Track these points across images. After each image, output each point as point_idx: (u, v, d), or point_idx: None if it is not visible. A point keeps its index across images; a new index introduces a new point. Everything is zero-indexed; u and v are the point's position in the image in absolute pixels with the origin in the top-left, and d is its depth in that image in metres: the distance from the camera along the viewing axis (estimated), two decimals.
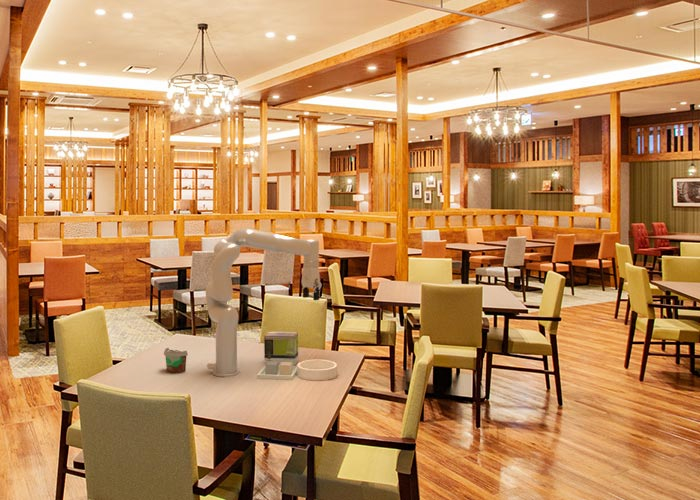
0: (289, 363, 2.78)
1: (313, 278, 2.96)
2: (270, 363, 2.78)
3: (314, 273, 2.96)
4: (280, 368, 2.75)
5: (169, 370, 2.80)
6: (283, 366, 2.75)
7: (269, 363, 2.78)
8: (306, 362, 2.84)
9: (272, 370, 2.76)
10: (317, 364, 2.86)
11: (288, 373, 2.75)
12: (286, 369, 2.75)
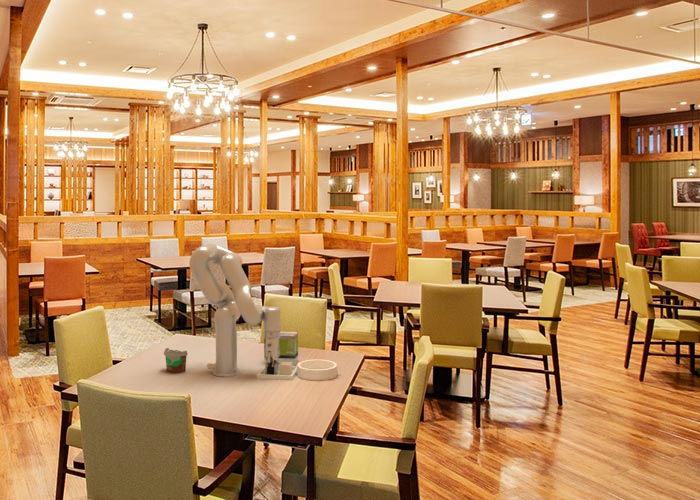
0: (289, 363, 2.78)
1: None
2: None
3: None
4: (280, 368, 2.75)
5: (169, 370, 2.80)
6: (283, 366, 2.75)
7: None
8: (306, 362, 2.84)
9: None
10: (317, 364, 2.86)
11: (288, 373, 2.75)
12: (286, 369, 2.75)
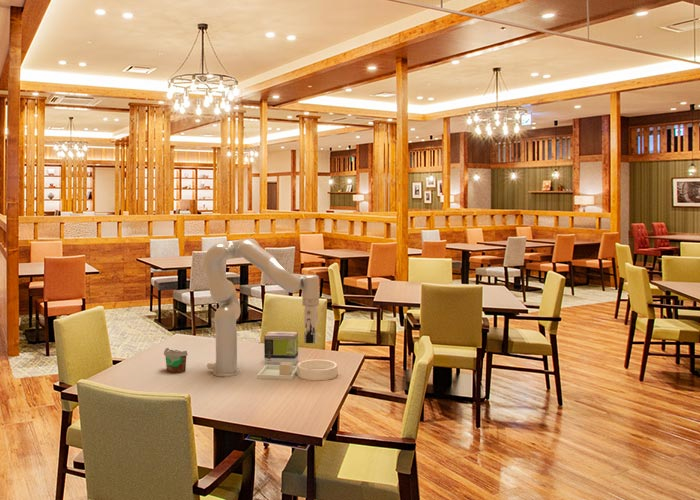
0: (289, 363, 2.78)
1: None
2: None
3: None
4: (280, 368, 2.75)
5: (169, 370, 2.80)
6: (283, 366, 2.75)
7: None
8: (306, 362, 2.84)
9: None
10: (317, 364, 2.86)
11: (288, 373, 2.75)
12: (286, 369, 2.75)
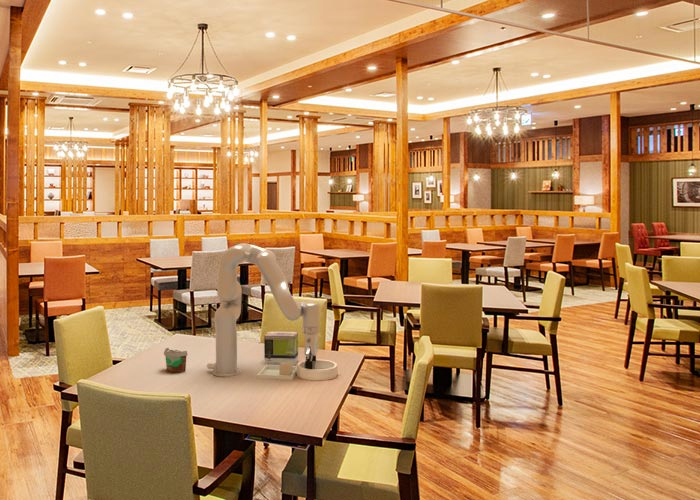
0: (289, 363, 2.78)
1: None
2: None
3: None
4: (280, 368, 2.75)
5: (169, 370, 2.80)
6: (283, 366, 2.75)
7: None
8: None
9: None
10: (317, 364, 2.86)
11: (288, 373, 2.75)
12: (286, 369, 2.75)
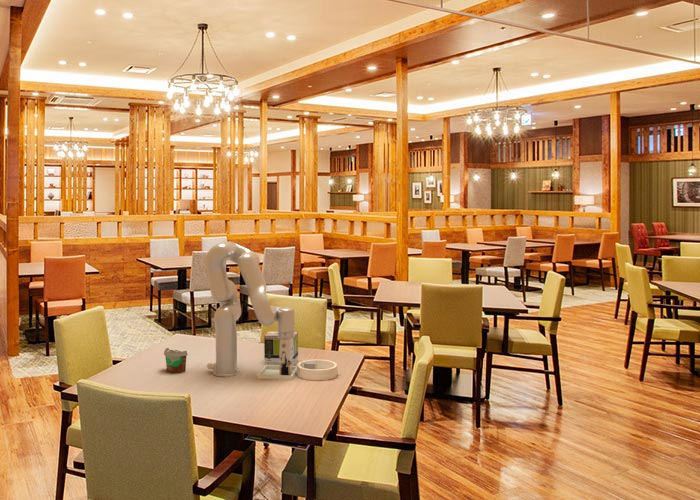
0: (289, 363, 2.78)
1: None
2: (309, 362, 2.78)
3: None
4: (280, 368, 2.75)
5: (169, 370, 2.80)
6: None
7: (307, 362, 2.78)
8: None
9: None
10: (317, 364, 2.86)
11: (288, 373, 2.75)
12: None
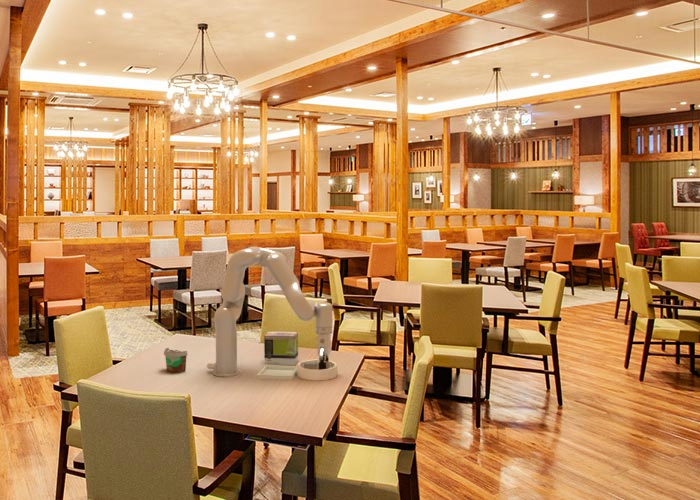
0: (327, 362, 2.78)
1: None
2: (309, 362, 2.78)
3: None
4: (318, 367, 2.76)
5: (169, 370, 2.80)
6: None
7: (307, 362, 2.78)
8: None
9: None
10: None
11: None
12: None
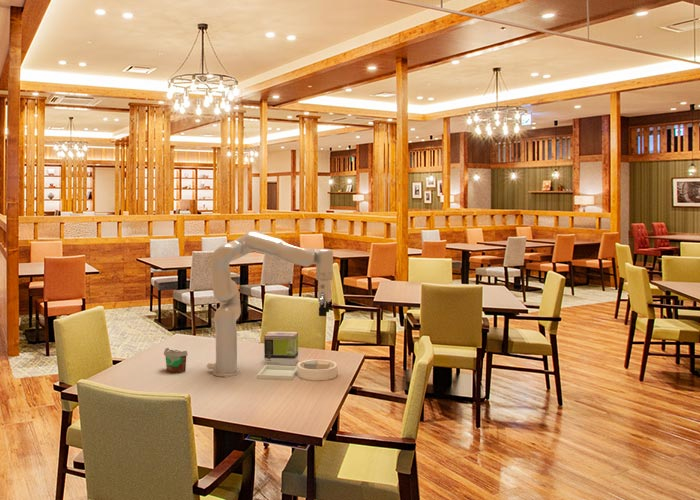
0: (327, 362, 2.78)
1: None
2: (309, 362, 2.78)
3: None
4: (318, 367, 2.76)
5: (169, 370, 2.80)
6: (321, 365, 2.75)
7: (307, 362, 2.78)
8: None
9: None
10: None
11: None
12: (324, 368, 2.75)
